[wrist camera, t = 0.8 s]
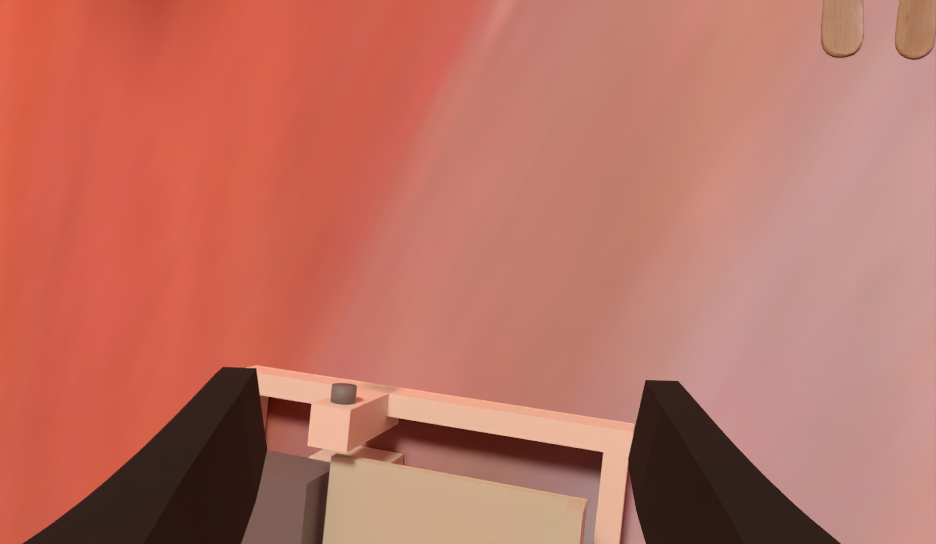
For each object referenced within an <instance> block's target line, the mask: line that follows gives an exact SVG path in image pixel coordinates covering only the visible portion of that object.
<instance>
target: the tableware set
mask: <svg viewBox="0 0 936 544" xmlns="http://www.w3.org/2000/svg"><path fill="white" fill-rule="evenodd" d="M935 36H936V0H900V1H899V8H898V16H897V24H896V32H895V45H896V49H897V51H898V52H899V53H900V54H901V55H902V56H904V57H907V58H910V59H916V58H921V57H923V56H926V55H927V54H928V53H929V52H930V51H931V50H932V48H933V46H934V44H935ZM863 38H864V17H863V0H824V1H823V12H822V24H821V43H822V46H823V48H824V50H825V51H826V52H827V54H830V55H832V56H835V57H845V56H848V55H852V54H854V53H855V52H856V51H857V50H858V49H859V48H860V47H861V44H862V41H863Z"/></svg>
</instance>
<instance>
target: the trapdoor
mask: <svg viewBox="0 0 936 544" xmlns="http://www.w3.org/2000/svg"><path fill="white" fill-rule="evenodd" d="M586 509H587V499H584V498H578V497H573V496H567V495H562V494H556V493H551V492H546V491H540V490H535V489H529V488H524V487H518V486H513V485H507V484H502V483H497V482H491V481H486V480H480V479H475V478H469V477H464V476H459V475H453V474H448V473H442V472H437V471H431V470H426V469H420V468H415V467H410V466H404V465H399V464H393V463H388V462H382V461H377V460H372V459H366V458H361V457H355V456H350V455H344V454H339V453H336V454H334V455H332V456H331V462H326V461H321V460H315V459H310V458H305V457H299V456H294V455H289V454H284V453H278V452H273V451H268V450H267V453H266V458H265V463H264V468H263V472H262V477H261V482H260V486H259V490H258V495H257V499H256V502H255V505H254V508H253V511H252V514H251V517H250V520H249V523H248V526H247V529H246V531H245V534H244V537H243V540H242V543H241V544H583V537H584V528H585V518H586Z"/></svg>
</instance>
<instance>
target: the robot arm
mask: <svg viewBox="0 0 936 544" xmlns="http://www.w3.org/2000/svg"><path fill="white" fill-rule="evenodd" d="M266 453H267V445H266V437H265V430H264V422H263V415H262V407H261V400H260V392H259V385H258V377H257V370H256V368H232V367H223V368H221V369H220V370H219V371H218V372H217V373H216V374H215V375H214V376H213V377H212V378H211V379H210V380H209V381H208V382H207V383H206V384H205V385H204V387H203V388H202V389H201V390H200V391H199V392H198V393H197V394H196V395H195V396H194V397H193V398H192V399H191V400H190V401H189V402H188V403H187V404H186V405H185V406H184V407H183V408H182V410H181V411H180V412H179V413H178V414H177V415H176V416H175V417H174V418H173V419H172V420H171V421H170V422H169V423H168V424H167V425H166V426H165V427H164V428H163V429H162V430H161V431H160V432H159V433H157V434H156V435H155V436H154V437H153V438H152V439H151V440H150V441H149V442H148V443H147V444H146V445H145V446H144V447H143V448H142V449H141V450H140V451H139V452H138V453H137V454H136V455H134V456H133V457H132V458H131V459H130V460H129V461H128V462H127V463H125V464H124V465H123V466H122V467H121V468H120V469H119V470H118V471H117V472H115V473H114V474H113V475H112V476H111V477H110V478H109V479H108V480H106V481H105V482H104V483H103V484H102V485H101V486H99V487H98V488H97V489H96V490H95V491H93V492H92V493H91V494H90V495H89V496H87V497H86V498H85V499H84V500H82V501H81V502H80V503H79V504H77V505H76V506H75V507H73V508H72V509H71V510H69V511H68V512H67V513H65V514H64V515H63V516H62V517H60V518H59V519H58V520H56V521H55V522H54V523H52V524H51V525H49V526H48V527H47V528H45V529H44V530H42V531H41V532H39V533H38V534H36V535H35V536H33V537H32V538H30V539H29V540H27V541H26V542H24V543H23V544H241V543H242V540H243V537H244V534H245V531H246V529H247V526H248V523H249V520H250V517H251V514H252V511H253V508H254V505H255V502H256V499H257V495H258V490H259V486H260V482H261V477H262V472H263V468H264V463H265V458H266ZM628 463H629V470H630V476H631V483H632V489H633V495H634V500H635V506H636V511H637V515H638V518H639V522H640V525H641V528H642V532H643V535H644V539H645V542H646V544H841V543H839V542H838V541H837V540H836V539H834V538H833V537H832V536H831V535H830V534H828V533H827V532H826V531H825V530H824V529H822V528H821V527H820V526H819V525H818V524H816V523H815V522H814V521H813V520H812V519H810V518H809V517H808V516H807V515H806V514H805V513H804V512H802V511H801V510H800V509H799V508H798V507H797V506H796V505H795V504H793V503H792V502H791V501H790V500H789V499H788V498H787V497H786V496H785V495H784V494H783V493H782V492H781V491H780V490H779V489H778V488H777V487H776V486H775V485H773V484H772V483H771V482H770V481H769V480H768V479H767V478H766V477H765V476H764V475H763V474H762V473H761V472H760V471H759V470H758V469H757V468H756V467H755V466H754V465H753V464H752V463H751V462H750V461H749V459H748V458H747V457H746V456H745V455H744V454H743V453H742V452H741V451H740V450H739V449H738V448H737V447H736V446H735V445H734V444H733V442H732V441H731V440H730V439H729V438H728V437H727V436H726V435H725V434H724V433H723V431H722V430H721V429H720V428H719V427H718V426H717V425H716V424H715V422H714V421H713V420H712V419H711V418H710V417H709V416H708V414H707V413H706V412H705V411H704V410H703V409H702V408H701V407H700V405H699V404H698V403H697V402H696V401H695V400H694V399H693V397H692V396H691V395H690V394H689V393H688V392H687V391H686V389H685V388H684V387H683V386H682V385H681V384H680V383H679V382H678V381H656V380H646V381H645V386H644V390H643V394H642V399H641V403H640V408H639V412H638V417H637V421H636V426H635V430H634V435H633V439H632V444H631V448H630V452H629V457H628Z"/></svg>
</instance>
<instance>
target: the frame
mask: <svg viewBox="0 0 936 544" xmlns="http://www.w3.org/2000/svg"><path fill="white" fill-rule="evenodd" d="M246 368H256V370H257V377H258V385H259V392H260V400H261V407H262V415H263V422H264V430H266V420H267V409H268V399H269V397H274V398H280V399H286V400H292V401H298V402H304V403H310V404H311V414H310V424H309V435H308V445H307V446H312V447H317V448H323V450H321V451H319V452H317V453H315V454H313V455H311V456H309V457H308V458H310V459H315V460H321V461H326V462H331V456H332V455H334V454H336V453H339V454H344V455H350V456H355V457H361V458H366V459H372V460H377V461H382V462H388V463H393V464H399V465H403V460H404V454H402V453H397V452H391V451H386V450H380V449H374V448H369V447H363V446H360V445H361V444H363V443H365V442H367V441H368V440H370V439H372V438H374V437H376V436H377V435H379V434H381V433H383V432H385V431H386V430H388V429H390V428H392V427H393V426H395V425H397V424H398V423H399V418H401V419H407V420H413V421H419V422H425V423H431V424H437V425H443V426H449V427H455V428H461V429H467V430H473V431H479V432H485V433H491V434H497V435H503V436H509V437H515V438H521V439H527V440H533V441H539V442H545V443H551V444H557V445H563V446H569V447H575V448H581V449H587V450H593V451H599V452H603V460H602V469H601V479H600V488H599V498H598V507H597V516H596V526H595V535H594V544H620V538H621V529H622V520H623V510H624V501H625V492H626V482H627V473H628V464H629V463H628V457H629V452H630V448H631V444H632V439H633V435H634V427H635V424H633V423H627V422H620V421H614V420H607V419H601V418H594V417H588V416H581V415H575V414H568V413H562V412H556V411H549V410H543V409H536V408H530V407H523V406H517V405H510V404H504V403H497V402H491V401H484V400H478V399H471V398H465V397H458V396H452V395H445V394H439V393H432V392H426V391H419V390H413V389H407V388H400V387H394V386H387V385H381V384H374V383H368V382H361V381H355V380H348V379H342V378H335V377H329V376H322V375H316V374H309V373H303V372H296V371H290V370H283V369H277V368H270V367H264V366H257V365H255V366H251V367H246Z"/></svg>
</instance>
